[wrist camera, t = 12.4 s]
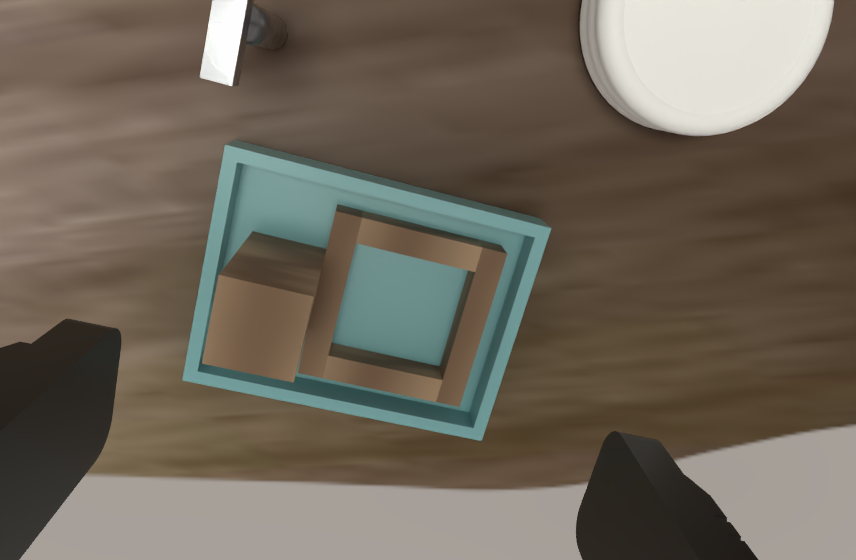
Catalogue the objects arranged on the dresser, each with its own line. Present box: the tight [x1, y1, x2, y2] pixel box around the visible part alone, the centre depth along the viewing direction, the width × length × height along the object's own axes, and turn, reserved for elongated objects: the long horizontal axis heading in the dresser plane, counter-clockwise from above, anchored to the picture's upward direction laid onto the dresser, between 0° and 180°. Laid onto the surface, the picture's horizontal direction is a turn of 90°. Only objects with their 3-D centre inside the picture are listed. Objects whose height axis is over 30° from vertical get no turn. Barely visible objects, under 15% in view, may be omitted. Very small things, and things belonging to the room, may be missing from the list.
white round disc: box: [580, 0, 834, 136], centre depth 29 cm, size 10×10×4 cm
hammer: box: [200, 0, 288, 86], centre depth 25 cm, size 1×4×9 cm, turn 165°
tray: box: [182, 140, 551, 441], centre depth 32 cm, size 15×11×2 cm
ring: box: [202, 204, 507, 407], centre depth 29 cm, size 12×8×7 cm
